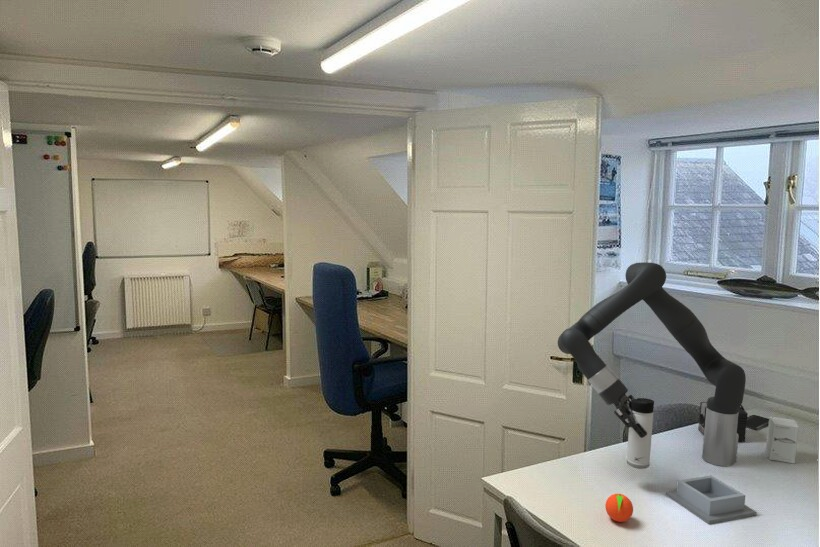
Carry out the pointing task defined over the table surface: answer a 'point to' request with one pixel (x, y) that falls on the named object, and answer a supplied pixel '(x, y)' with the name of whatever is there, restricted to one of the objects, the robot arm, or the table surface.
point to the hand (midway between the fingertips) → (646, 432)
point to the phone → (756, 422)
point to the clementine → (619, 507)
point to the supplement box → (782, 439)
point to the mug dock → (710, 499)
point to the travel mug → (636, 445)
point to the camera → (740, 426)
